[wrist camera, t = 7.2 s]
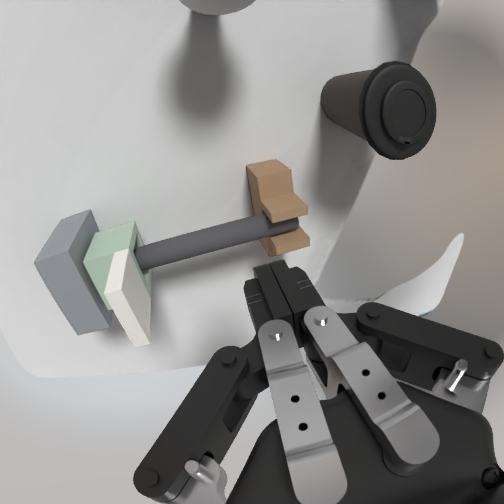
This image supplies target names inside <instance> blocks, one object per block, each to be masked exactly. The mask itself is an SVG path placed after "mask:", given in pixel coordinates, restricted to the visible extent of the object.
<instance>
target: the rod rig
mask: <svg viewBox="0 0 504 504" xmlns="http://www.w3.org/2000/svg"><path fill="white" fill-rule="evenodd" d="M246 169H247V174H248V180H249V186H250V192H251V198H252V203H253V209H254V215H255V216H252V217H248V218H244V219H240V220H236V221H232V222H228V223H224V224H221V225H217V226H213V227H209V228H206V229H202V230H198V231H194V232H191V233H187V234H183V235H180V236H176V237H173V238H169V239H165V240H162V241H158V242H155V243H151V244H148V245H144V246H141V247H137V248H134V251H133V252H134V255H135V257H136V260H137V262H138V264H139V267H140V269H141V271H143V270H147V269H151V268H154V267H158V266H161V265H165V264H169V263H172V262H176V261H180V260H183V259H187V258H191V257H194V256H198V255H202V254H205V253H209V252H213V251H216V250H220V249H224V248H228V247H231V246H235V245H239V244H242V243H246V242H250V241H254V240H257V239H259V240H260V242H261V243H262V245H263V247H264V249H265V250H266V252H267V254H268V256H269V257H272V256H276V255H280V254H283V253H287V252H290V251H294V250H297V249H301V248H304V247H308V246H310V238H309V236H308V235H307V234H306V233H305V232H304V231H303V229H302V228H301V227H300V226H299V221H298V217H299V216H303V215H307V214H308V207H307V204H305V203H304V202H303V201H302V200H301V199H300V198H299V197H298V196H297V195H296V194H295V193H294V192H293V183H292V174H291V170H290V169H289V168H288V167H286V166H285V165H284V164H282V163H281V162H279V161H278V160H277V159H274V160H269V161H264V162H260V163H255V164H250V165H246ZM96 232H99V229H98V227H97V224H96V222H95V219H94V217H93V214H92V212H91V209H90V210H87V211H85V212H82V213H79V214H76V215H73V216H71V217H68V218H65V219H62V220H61V221H60V223H59V224H58V226H57V227H56V228H55V230H54V231H53V233H52V234H51V236H50V237H49V239H48V240H47V242H46V244H45V245H44V247H43V248H42V250H41V251H40V253H39V255H38V256H37V258H36V260H35V261H34V264H35V266H36V268H37V270H38V272H39V274H40V276H41V277H42V279H43V281H44V283H45V284H46V286H47V288H48V290H49V291H50V293H51V295H52V296H53V298H54V300H55V301H56V303H57V304H58V306H59V308H60V309H61V311H62V312H63V314H64V315H65V317H66V319H67V320H68V322H69V323H70V325H71V326H72V327H73V329H74V330H75V332H76V333H77V335H81V334H86V333H90V332H94V331H99V330H103V329H107V328H110V325H111V318H112V312H113V309H112V310H108V309H107V307H106V305H105V303H104V302H103V300H102V298H101V296H100V294H99V292H98V291H97V289H96V287H95V285H94V283H93V281H92V279H91V277H90V275H89V273H88V271H87V269H86V267H85V265H84V263H83V261H84V258H85V256H86V253H87V251H88V249H89V246H90V244H91V242H92V239H93V237H94V235H95V233H96Z"/></svg>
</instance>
